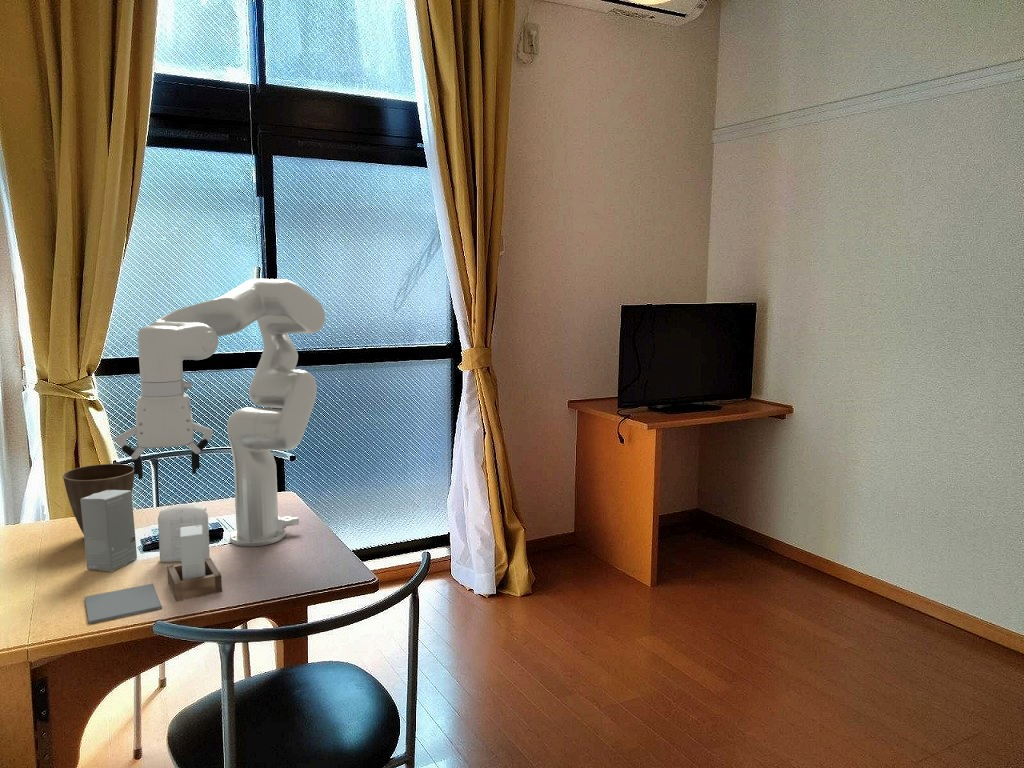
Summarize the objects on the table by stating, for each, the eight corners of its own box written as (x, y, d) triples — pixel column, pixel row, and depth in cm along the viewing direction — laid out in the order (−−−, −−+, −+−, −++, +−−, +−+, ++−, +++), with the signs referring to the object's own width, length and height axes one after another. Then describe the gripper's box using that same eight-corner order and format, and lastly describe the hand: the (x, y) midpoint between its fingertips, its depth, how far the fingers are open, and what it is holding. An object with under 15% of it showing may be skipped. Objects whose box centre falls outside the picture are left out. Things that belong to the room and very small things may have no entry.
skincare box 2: (183, 583, 151) (180, 526, 150) (205, 579, 153) (202, 524, 151) (183, 594, 146) (179, 536, 144) (206, 591, 147) (203, 533, 146)
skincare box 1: (112, 573, 156) (106, 500, 154) (82, 570, 157) (77, 498, 155) (139, 558, 164) (135, 489, 162) (111, 555, 165) (106, 486, 163)
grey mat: (153, 585, 150) (153, 583, 150) (161, 608, 140) (161, 605, 140) (84, 599, 143) (84, 596, 143) (89, 623, 133) (88, 621, 133)
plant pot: (136, 522, 187) (132, 460, 185) (141, 540, 175) (137, 474, 172) (67, 532, 180) (62, 468, 177) (68, 552, 167) (62, 483, 165)
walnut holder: (211, 573, 156) (210, 557, 155) (222, 591, 147) (221, 575, 147) (168, 582, 151) (167, 566, 151) (176, 601, 143) (175, 584, 142)
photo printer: (211, 553, 167) (208, 500, 165) (208, 560, 163) (205, 506, 161) (162, 556, 165) (159, 503, 163) (158, 564, 161) (154, 509, 159)
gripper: (209, 384, 151) (213, 465, 153) (113, 389, 143) (119, 474, 146) (211, 389, 144) (216, 474, 147) (111, 395, 137) (117, 484, 139)
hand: (167, 474), depth 146 cm, fingers open, 9 cm apart
